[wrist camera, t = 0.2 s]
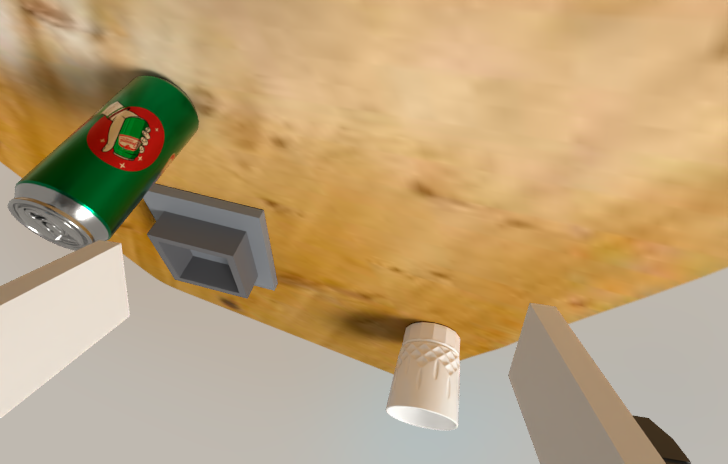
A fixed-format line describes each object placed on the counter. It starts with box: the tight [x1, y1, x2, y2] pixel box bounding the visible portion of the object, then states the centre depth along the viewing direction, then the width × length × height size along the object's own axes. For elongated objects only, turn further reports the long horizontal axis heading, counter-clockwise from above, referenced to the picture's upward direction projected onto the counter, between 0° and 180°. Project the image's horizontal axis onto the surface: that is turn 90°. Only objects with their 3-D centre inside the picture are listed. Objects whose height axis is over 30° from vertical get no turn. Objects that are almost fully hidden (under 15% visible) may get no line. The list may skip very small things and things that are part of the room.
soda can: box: [8, 76, 199, 251], centre depth 24 cm, size 5×5×12 cm
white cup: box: [386, 322, 460, 430], centre depth 45 cm, size 8×8×10 cm
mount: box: [143, 184, 278, 298], centre depth 40 cm, size 14×12×4 cm
